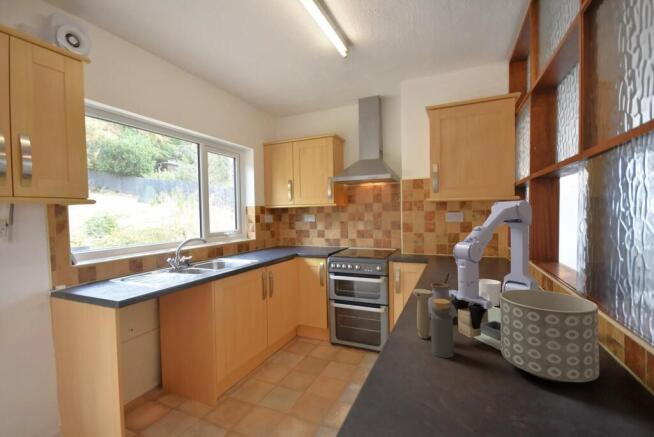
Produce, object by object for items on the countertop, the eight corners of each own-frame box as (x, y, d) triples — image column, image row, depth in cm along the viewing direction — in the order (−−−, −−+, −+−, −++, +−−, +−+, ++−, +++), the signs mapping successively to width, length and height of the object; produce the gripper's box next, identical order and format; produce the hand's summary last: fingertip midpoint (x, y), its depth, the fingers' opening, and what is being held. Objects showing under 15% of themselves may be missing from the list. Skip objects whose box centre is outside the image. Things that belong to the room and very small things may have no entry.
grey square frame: (498, 327, 96) (498, 319, 96) (520, 335, 89) (520, 327, 89) (477, 331, 93) (477, 323, 93) (498, 340, 86) (498, 332, 86)
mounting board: (490, 325, 100) (489, 305, 100) (536, 344, 85) (536, 320, 85) (461, 331, 96) (460, 310, 96) (504, 352, 81) (503, 327, 81)
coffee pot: (452, 326, 101) (451, 284, 101) (420, 320, 108) (419, 280, 108) (464, 309, 118) (463, 273, 118) (435, 305, 125) (435, 271, 125)
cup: (506, 307, 120) (506, 283, 120) (482, 307, 120) (482, 284, 120) (493, 300, 130) (492, 278, 130) (471, 300, 130) (470, 279, 130)
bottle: (452, 350, 83) (451, 298, 83) (454, 359, 78) (453, 304, 78) (431, 347, 85) (430, 297, 85) (431, 356, 80) (430, 303, 79)
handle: (428, 342, 88) (427, 294, 88) (410, 336, 93) (409, 290, 93) (436, 337, 92) (435, 291, 91) (418, 332, 96) (417, 288, 96)
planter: (608, 407, 57) (606, 317, 57) (498, 378, 68) (497, 303, 68) (591, 365, 73) (589, 295, 73) (503, 348, 84) (502, 286, 84)
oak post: (469, 330, 90) (468, 307, 90) (481, 335, 86) (480, 312, 86) (458, 332, 88) (457, 309, 88) (469, 337, 84) (469, 314, 84)
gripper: (441, 277, 93) (442, 319, 93) (477, 287, 79) (479, 336, 79) (458, 275, 95) (459, 316, 95) (496, 285, 81) (498, 332, 81)
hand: (469, 325), depth 87 cm, fingers closed on oak post, 4 cm apart
